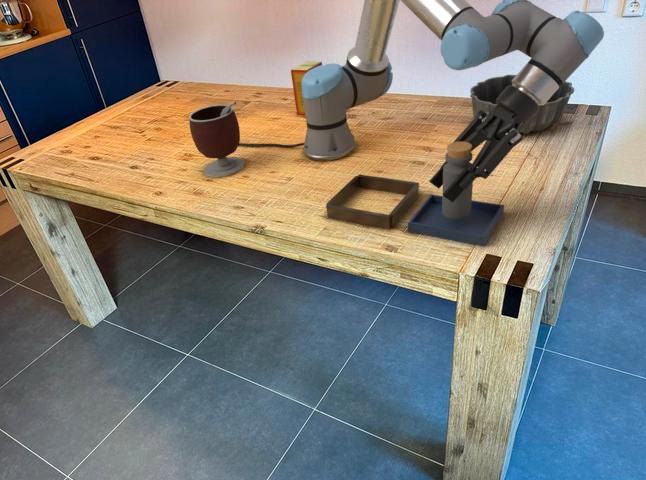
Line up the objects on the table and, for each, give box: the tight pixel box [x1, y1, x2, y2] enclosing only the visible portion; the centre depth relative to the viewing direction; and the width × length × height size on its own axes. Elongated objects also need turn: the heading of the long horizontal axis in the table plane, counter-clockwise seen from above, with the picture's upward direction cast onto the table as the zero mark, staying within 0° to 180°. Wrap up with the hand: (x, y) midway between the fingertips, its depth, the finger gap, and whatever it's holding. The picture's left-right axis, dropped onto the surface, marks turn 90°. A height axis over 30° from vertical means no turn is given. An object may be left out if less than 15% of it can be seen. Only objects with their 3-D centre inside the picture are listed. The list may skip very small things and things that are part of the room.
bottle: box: [441, 141, 474, 219], centre depth 104 cm, size 6×6×15 cm
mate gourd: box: [188, 101, 245, 178], centre depth 147 cm, size 16×14×20 cm
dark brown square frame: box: [325, 174, 420, 230], centre depth 120 cm, size 17×17×3 cm
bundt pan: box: [469, 74, 575, 135], centre depth 143 cm, size 26×26×10 cm
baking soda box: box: [290, 61, 323, 117], centre depth 177 cm, size 10×6×16 cm
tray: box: [407, 193, 505, 247], centre depth 109 cm, size 16×13×2 cm
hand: (440, 191), depth 104 cm, fingers closed on bottle, 6 cm apart
